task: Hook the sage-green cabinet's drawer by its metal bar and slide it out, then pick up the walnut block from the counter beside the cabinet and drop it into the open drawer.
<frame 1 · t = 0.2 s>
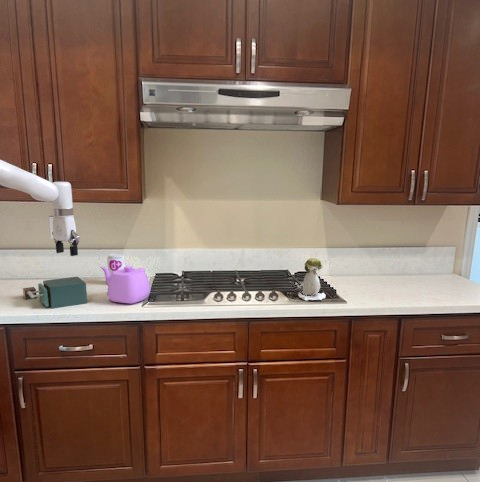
hand: (67, 254, 194), 21 cm above the kitchen counter, tool pointing down, fingers open, 9 cm apart
cabinet: (66, 302, 201), on the kitchen counter
drawer: (52, 293, 197), point 5 cm above the kitchen counter, slide at 1.0 cm
teapot: (128, 300, 206), on the kitchen counter
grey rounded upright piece: (312, 298, 213), on the kitchen counter
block: (30, 298, 205), on the kitchen counter
supplement can: (117, 285, 230), on the kitchen counter
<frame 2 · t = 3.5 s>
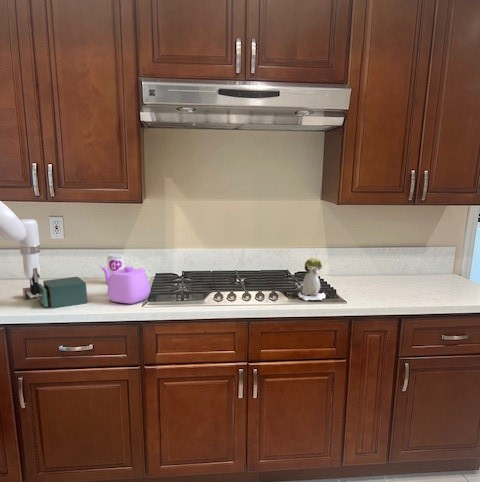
hand: (35, 293, 193), 6 cm above the kitchen counter, tool pointing down, fingers closed
drawer: (51, 293, 197), point 5 cm above the kitchen counter, slide at 1.3 cm, touching gripper
everything else where it was.
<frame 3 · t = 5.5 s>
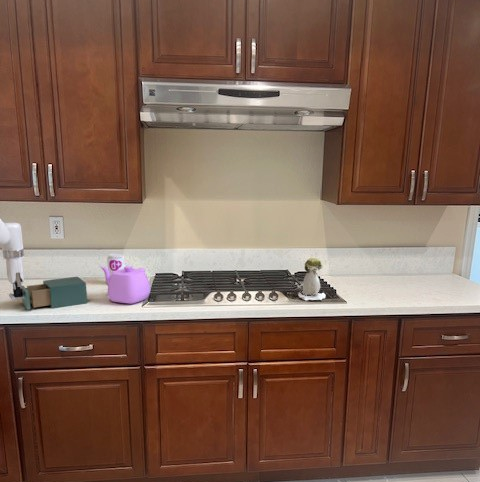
hand: (18, 298, 190), 5 cm above the kitchen counter, tool pointing down, fingers closed
drawer: (34, 296, 193), point 5 cm above the kitchen counter, slide at 8.0 cm
everything else where it was.
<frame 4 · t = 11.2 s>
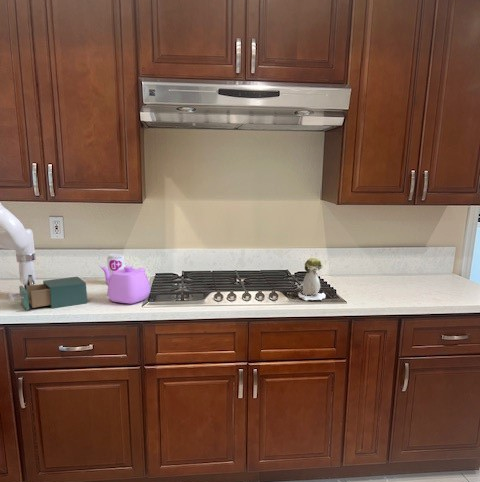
hand: (30, 297, 205), 0 cm above the kitchen counter, tool pointing down, fingers closed on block, 4 cm apart
drawer: (33, 296, 193), point 5 cm above the kitchen counter, slide at 8.4 cm
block: (30, 298, 205), on the kitchen counter, touching gripper
everything else where it was.
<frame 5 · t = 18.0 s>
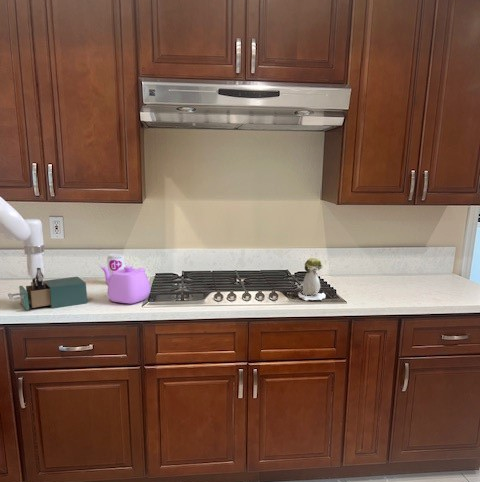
hand: (38, 292, 194), 6 cm above the kitchen counter, tool pointing down, fingers closed on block, 4 cm apart
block: (38, 293, 194), point 5 cm above the kitchen counter, touching gripper
everything else where it was.
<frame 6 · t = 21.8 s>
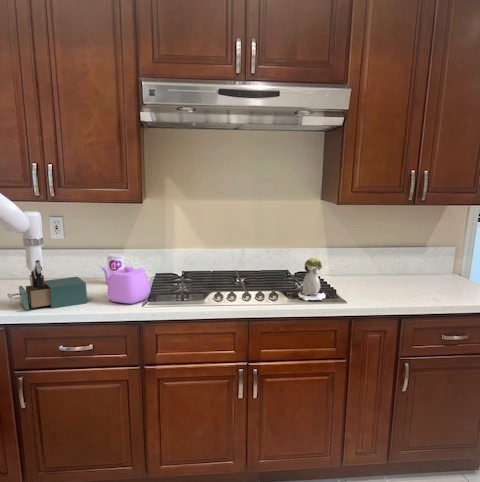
hand: (37, 285, 193), 9 cm above the kitchen counter, tool pointing down, fingers closed on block, 4 cm apart
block: (37, 286, 193), point 9 cm above the kitchen counter, touching gripper
everything else where it was.
when the fingers open (9 cm above the kitchen counter, at t = 32.4 s): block drops 7 cm, resting on drawer.
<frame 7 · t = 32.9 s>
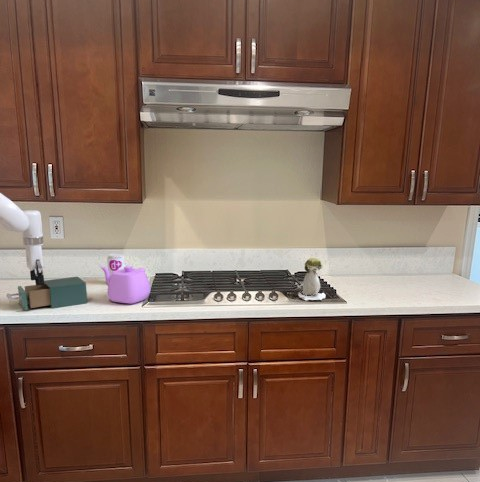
hand: (37, 282, 192), 10 cm above the kitchen counter, tool pointing down, fingers open, 9 cm apart
drawer: (32, 296, 192), point 5 cm above the kitchen counter, slide at 9.0 cm, touching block
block: (39, 301, 195), point 2 cm above the kitchen counter, touching drawer
everything else where it was.
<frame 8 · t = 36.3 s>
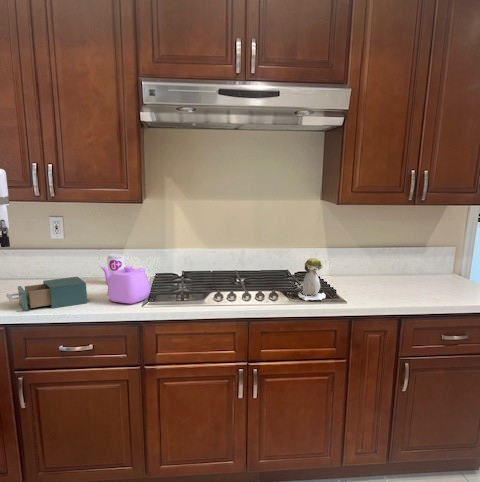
hand: (3, 245, 185), 26 cm above the kitchen counter, tool pointing down, fingers open, 9 cm apart
nothing on the kitchen counter moved.
at the end: drawer slide at 9.0 cm; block inside the target area in the drawer (0.1 cm from its centre), point 2.0 cm above the cabinet's base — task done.
